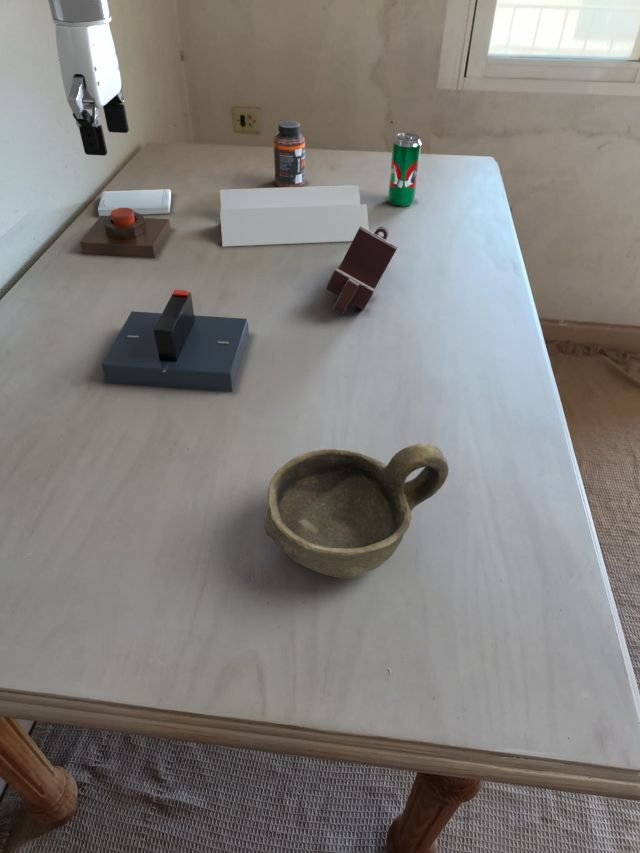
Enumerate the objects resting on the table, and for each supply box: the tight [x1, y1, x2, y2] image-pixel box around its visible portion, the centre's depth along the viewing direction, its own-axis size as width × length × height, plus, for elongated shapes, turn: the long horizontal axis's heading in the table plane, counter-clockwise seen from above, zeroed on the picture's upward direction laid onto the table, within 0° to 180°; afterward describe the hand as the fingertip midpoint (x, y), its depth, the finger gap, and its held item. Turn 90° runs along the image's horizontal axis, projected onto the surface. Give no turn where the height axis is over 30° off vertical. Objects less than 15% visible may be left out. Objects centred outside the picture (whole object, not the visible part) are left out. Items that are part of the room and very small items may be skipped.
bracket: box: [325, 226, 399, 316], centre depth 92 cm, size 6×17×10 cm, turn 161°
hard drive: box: [97, 188, 172, 218], centre depth 116 cm, size 2×8×12 cm
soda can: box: [387, 132, 422, 208], centre depth 115 cm, size 5×5×12 cm
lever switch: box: [100, 311, 250, 393], centre depth 81 cm, size 16×13×3 cm
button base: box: [79, 212, 172, 259], centre depth 105 cm, size 12×10×4 cm
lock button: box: [111, 208, 135, 226], centre depth 103 cm, size 4×4×2 cm
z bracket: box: [219, 184, 370, 248], centre depth 109 cm, size 12×25×6 cm
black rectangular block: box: [154, 289, 195, 362], centre depth 79 cm, size 9×2×5 cm, turn 174°
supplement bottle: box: [273, 120, 306, 188], centre depth 121 cm, size 6×6×11 cm
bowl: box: [264, 442, 449, 580], centre depth 59 cm, size 14×18×10 cm
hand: (108, 142), depth 95 cm, fingers open, 9 cm apart
